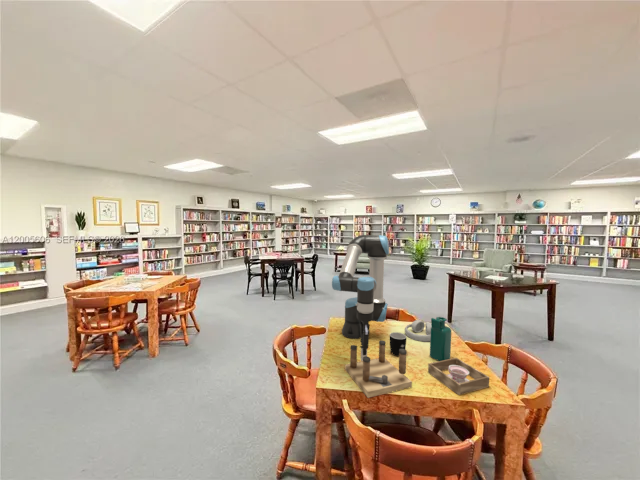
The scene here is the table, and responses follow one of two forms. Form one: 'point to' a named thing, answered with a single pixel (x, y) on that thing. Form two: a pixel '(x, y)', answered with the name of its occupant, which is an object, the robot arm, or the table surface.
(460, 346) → the table surface
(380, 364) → the stool top
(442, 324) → the green bottle
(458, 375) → the teacup
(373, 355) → the table surface
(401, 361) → the loose leg
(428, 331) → the headphones
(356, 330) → the robot arm
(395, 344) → the mug
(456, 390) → the cup coaster tray
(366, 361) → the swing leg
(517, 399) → the table surface
